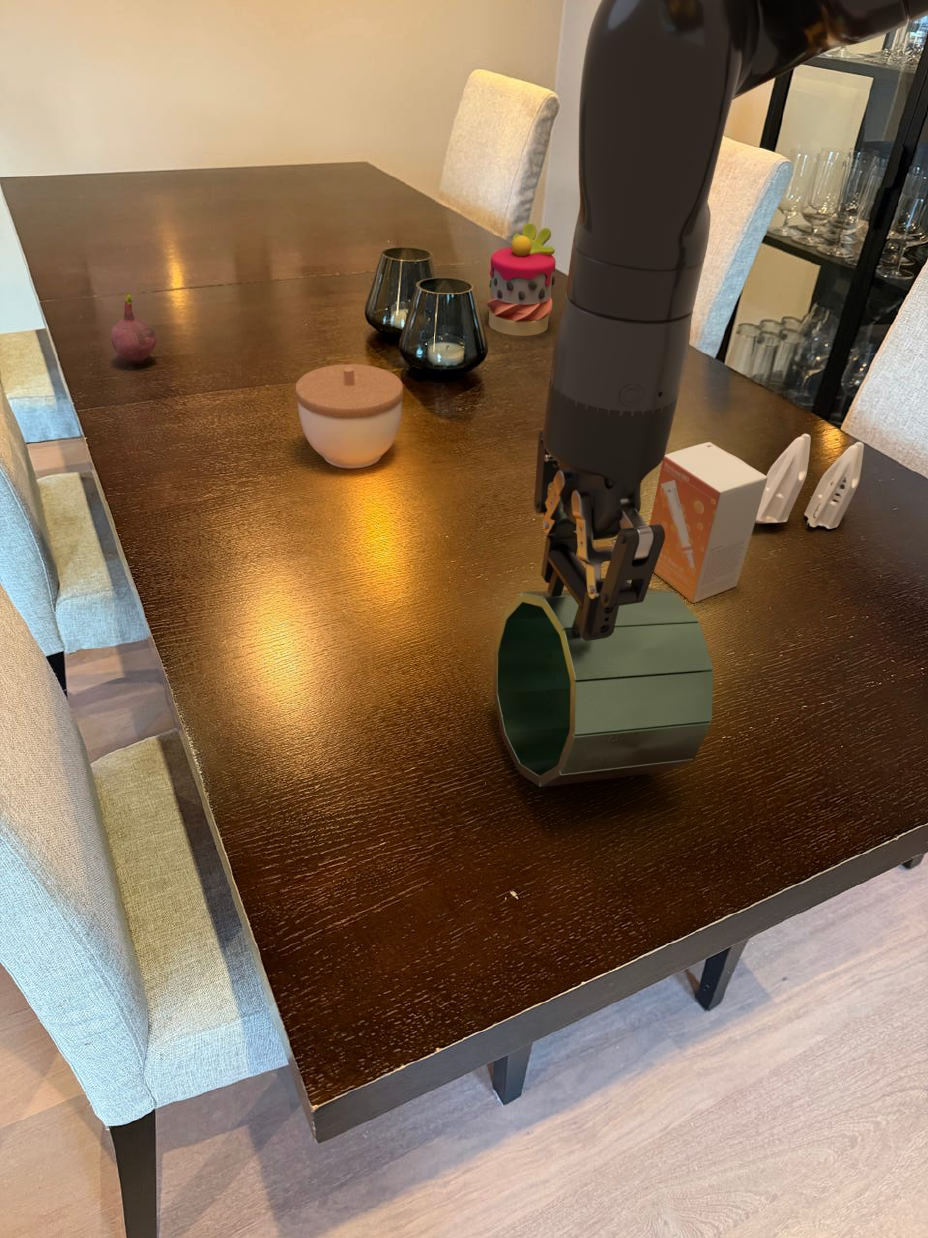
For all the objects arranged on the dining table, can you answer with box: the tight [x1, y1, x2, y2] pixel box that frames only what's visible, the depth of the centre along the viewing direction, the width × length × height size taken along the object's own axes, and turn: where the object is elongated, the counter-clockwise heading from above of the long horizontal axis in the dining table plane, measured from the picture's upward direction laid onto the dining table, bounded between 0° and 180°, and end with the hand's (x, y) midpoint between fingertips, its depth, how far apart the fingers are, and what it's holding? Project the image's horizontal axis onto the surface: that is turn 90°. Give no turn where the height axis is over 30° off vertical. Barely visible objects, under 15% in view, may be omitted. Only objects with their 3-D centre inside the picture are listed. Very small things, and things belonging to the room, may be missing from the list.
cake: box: [486, 222, 557, 337], centre depth 143 cm, size 10×11×15 cm
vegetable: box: [110, 294, 157, 364], centre depth 126 cm, size 6×6×10 cm
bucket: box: [493, 544, 715, 788], centre depth 67 cm, size 11×14×18 cm
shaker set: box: [755, 433, 865, 530], centre depth 99 cm, size 12×4×11 cm, turn 99°
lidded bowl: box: [294, 363, 404, 469], centre depth 107 cm, size 13×13×11 cm
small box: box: [648, 441, 768, 604], centre depth 89 cm, size 8×6×13 cm
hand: (574, 605), depth 62 cm, fingers closed on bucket, 6 cm apart
